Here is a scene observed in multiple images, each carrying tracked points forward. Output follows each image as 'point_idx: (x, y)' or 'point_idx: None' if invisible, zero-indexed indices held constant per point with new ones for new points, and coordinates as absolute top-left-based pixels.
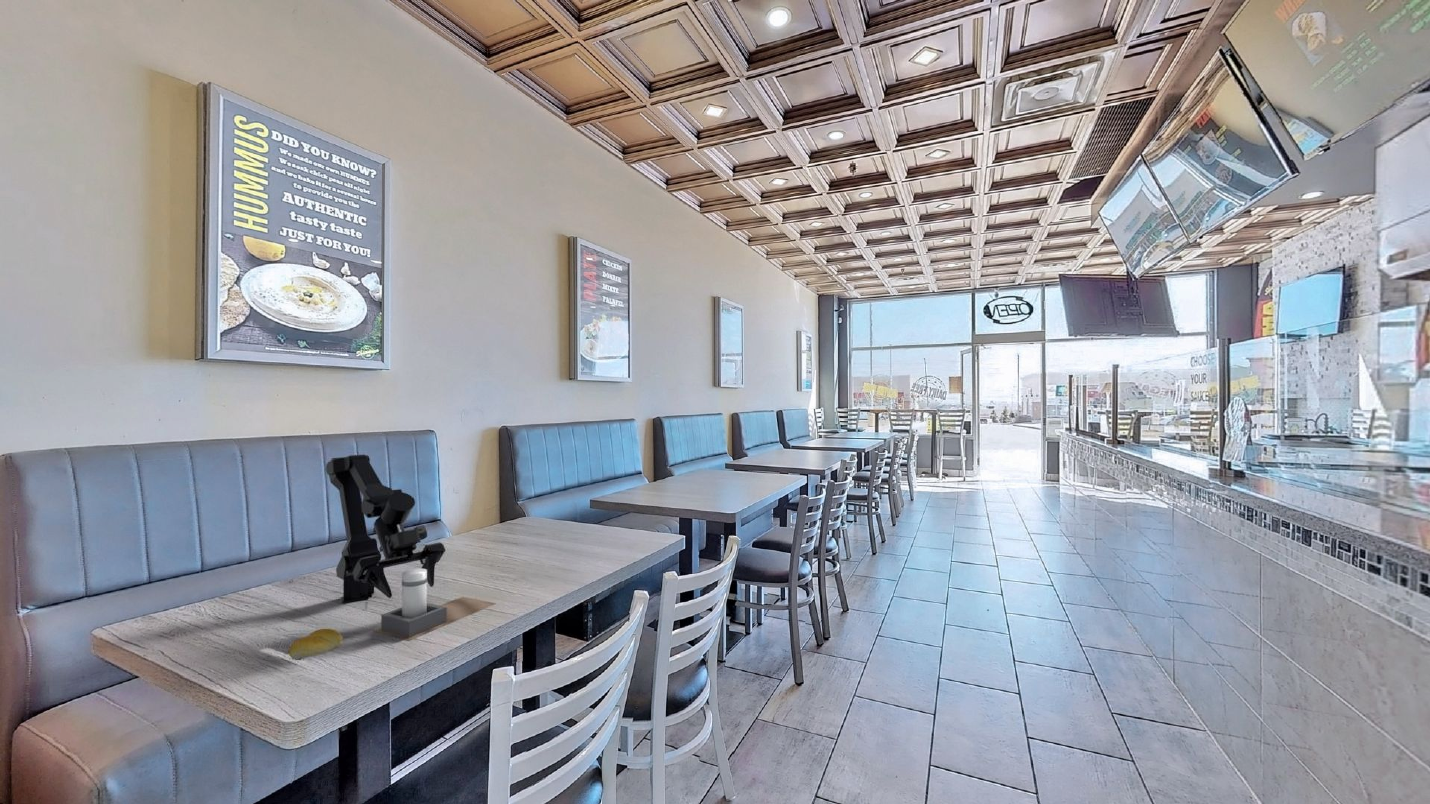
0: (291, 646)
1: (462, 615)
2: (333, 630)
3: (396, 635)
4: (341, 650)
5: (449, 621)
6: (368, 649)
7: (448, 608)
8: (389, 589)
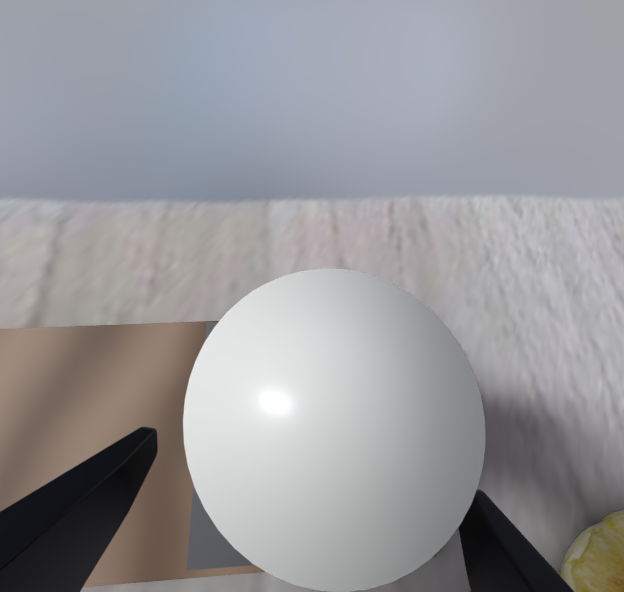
0: None
1: (144, 344)
2: None
3: None
4: (568, 501)
5: None
6: (493, 409)
7: None
8: (504, 533)
